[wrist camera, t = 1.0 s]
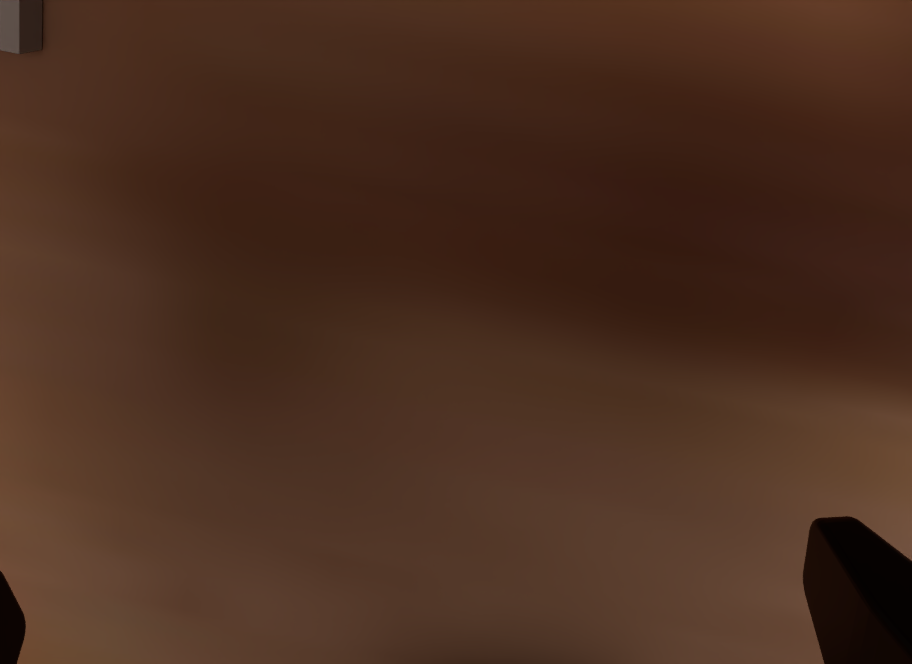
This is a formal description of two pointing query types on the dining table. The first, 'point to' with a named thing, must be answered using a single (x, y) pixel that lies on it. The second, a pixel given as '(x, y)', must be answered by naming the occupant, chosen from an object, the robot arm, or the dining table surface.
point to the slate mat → (20, 26)
